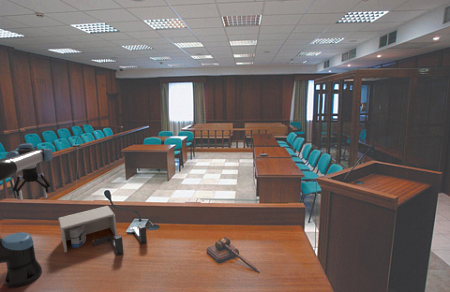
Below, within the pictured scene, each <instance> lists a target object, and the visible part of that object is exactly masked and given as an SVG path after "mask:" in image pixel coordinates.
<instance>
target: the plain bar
mask: <svg viewBox="0 0 450 292" xmlns="http://www.w3.org/2000/svg"><path fill="white" fill-rule="evenodd" d="M137 227H138V228H137ZM132 229H133V230H134V232H135V234H134V235H135V237H136V238H137V239H138V241H139V243H140V244H141V245H144V244H146V243H148V240H147V239H148V238H147V228H146V225H145V224H141V225H138V226H133V227H131V230H132Z"/></svg>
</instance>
